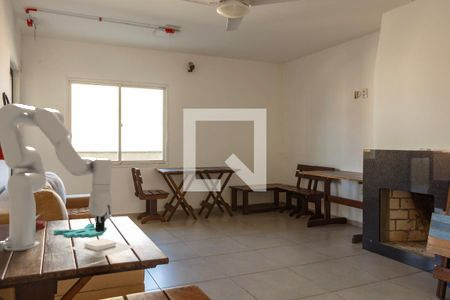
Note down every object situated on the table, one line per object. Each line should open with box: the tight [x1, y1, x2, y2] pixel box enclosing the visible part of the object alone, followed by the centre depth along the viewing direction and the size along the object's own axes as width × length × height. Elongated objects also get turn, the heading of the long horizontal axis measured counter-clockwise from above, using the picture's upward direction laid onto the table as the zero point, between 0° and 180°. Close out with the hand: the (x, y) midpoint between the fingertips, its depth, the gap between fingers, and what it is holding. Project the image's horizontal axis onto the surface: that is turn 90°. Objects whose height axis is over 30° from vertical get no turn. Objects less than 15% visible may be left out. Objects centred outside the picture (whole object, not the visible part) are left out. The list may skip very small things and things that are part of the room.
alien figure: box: [53, 223, 108, 238], centre depth 171 cm, size 20×2×20 cm
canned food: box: [36, 211, 47, 230], centre depth 180 cm, size 11×10×10 cm
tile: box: [84, 238, 117, 251], centre depth 147 cm, size 9×2×9 cm
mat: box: [69, 238, 135, 259], centre depth 146 cm, size 18×20×1 cm
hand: (99, 231), depth 147 cm, fingers closed
